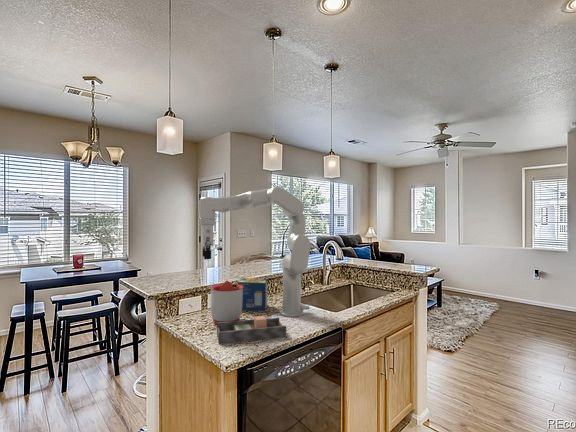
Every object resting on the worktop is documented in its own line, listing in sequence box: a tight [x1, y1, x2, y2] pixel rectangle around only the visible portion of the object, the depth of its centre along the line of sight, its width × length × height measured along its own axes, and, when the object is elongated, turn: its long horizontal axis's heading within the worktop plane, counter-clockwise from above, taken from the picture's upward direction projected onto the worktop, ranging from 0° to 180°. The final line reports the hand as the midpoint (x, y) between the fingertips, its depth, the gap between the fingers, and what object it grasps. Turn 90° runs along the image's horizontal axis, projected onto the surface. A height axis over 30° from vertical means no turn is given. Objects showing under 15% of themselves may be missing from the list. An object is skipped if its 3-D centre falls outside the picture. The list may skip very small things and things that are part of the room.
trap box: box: [216, 317, 287, 345], centre depth 133 cm, size 28×12×4 cm, turn 107°
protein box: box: [237, 277, 268, 312], centre depth 173 cm, size 10×15×16 cm
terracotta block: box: [253, 315, 267, 328], centre depth 134 cm, size 4×4×4 cm
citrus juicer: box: [210, 280, 243, 325], centre depth 150 cm, size 16×17×20 cm
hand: (206, 257), depth 150 cm, fingers open, 9 cm apart
